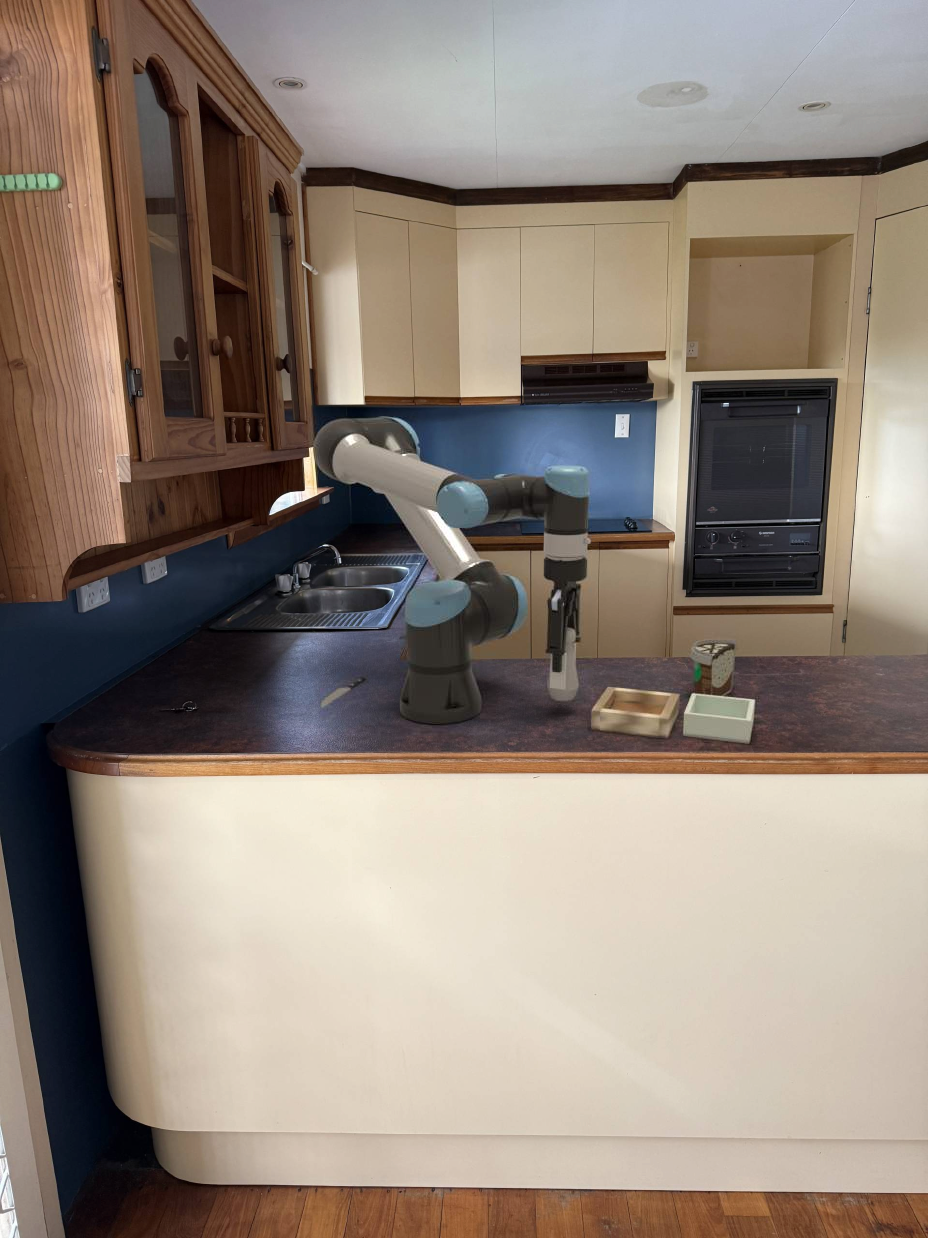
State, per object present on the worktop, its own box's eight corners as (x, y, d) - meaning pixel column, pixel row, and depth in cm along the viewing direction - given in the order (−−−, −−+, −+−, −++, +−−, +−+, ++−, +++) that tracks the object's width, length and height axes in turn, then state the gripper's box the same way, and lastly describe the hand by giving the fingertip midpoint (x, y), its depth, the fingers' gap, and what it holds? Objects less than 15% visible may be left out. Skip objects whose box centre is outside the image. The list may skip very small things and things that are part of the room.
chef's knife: (305, 711, 157) (318, 712, 156) (304, 706, 157) (318, 706, 156) (354, 680, 174) (367, 680, 173) (354, 675, 174) (366, 675, 173)
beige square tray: (591, 729, 144) (591, 710, 143) (607, 704, 155) (608, 686, 155) (667, 739, 139) (668, 719, 138) (678, 712, 151) (679, 694, 150)
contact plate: (603, 721, 145) (603, 718, 144) (615, 703, 153) (615, 701, 153) (658, 728, 141) (658, 725, 141) (667, 709, 150) (667, 706, 149)
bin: (682, 735, 140) (684, 713, 139) (691, 714, 150) (692, 693, 149) (749, 743, 136) (750, 720, 135) (753, 721, 146) (754, 699, 145)
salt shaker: (554, 689, 156) (556, 622, 152) (583, 695, 153) (585, 626, 149) (541, 699, 151) (542, 630, 147) (570, 705, 148) (572, 634, 144)
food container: (704, 682, 166) (706, 634, 164) (734, 688, 162) (737, 639, 160) (677, 700, 157) (679, 649, 155) (708, 706, 153) (710, 654, 151)
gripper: (572, 568, 135) (569, 702, 141) (599, 548, 152) (595, 669, 158) (528, 564, 138) (527, 696, 144) (559, 546, 155) (556, 664, 161)
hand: (562, 682), depth 151 cm, fingers closed on salt shaker, 6 cm apart
